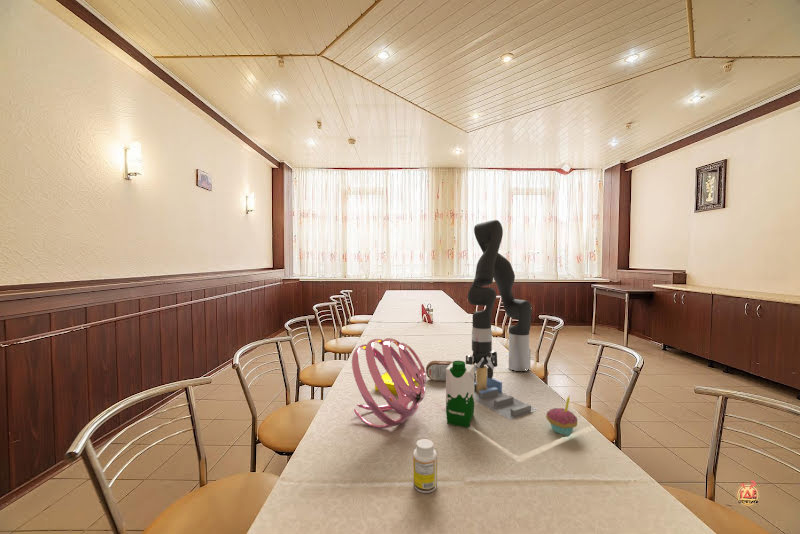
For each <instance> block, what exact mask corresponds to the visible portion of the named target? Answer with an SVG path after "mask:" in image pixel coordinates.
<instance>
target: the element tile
mask: <svg viewBox="0 0 800 534" xmlns="http://www.w3.org/2000/svg"><path fill="white" fill-rule="evenodd" d="M399 372H400V374H401V376H402V377H403V379H404V380H405V382H406V383H407V384H408V382H407V380H406V377H405V375H404V373H403V372H402V370H401V371H400V370H399ZM381 377H382V379H383V380H384V382H385V384H386V386H387V387H388V389H389V390H390V392H391V393H392V395H394V394H395V396H398V394H397V391H396V389H395V386H394V384H393V382H392V380H391V378H390V376H389V374H388V373H387V371H385V373H384V374H383V373H382V375H381ZM412 378H413V377H412ZM413 381H414V383H415V386H416V387H418V385H419V384H418V383H417V382H416V381H415V380H414V379H413ZM408 385H409V384H408ZM375 390H376V391H375ZM374 391H375V392H378V391H379V390H378V388H377V386H376V384H375V383H374Z"/></svg>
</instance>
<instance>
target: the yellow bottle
mask: <svg viewBox="0 0 800 534" xmlns="http://www.w3.org/2000/svg"><path fill="white" fill-rule="evenodd" d="M487 368H488V367H487V365H482V366H480V367H479V368H478V369H477V370H476V372H475V373H476V393H477V394H479V391H482V390H485V389H487Z"/></svg>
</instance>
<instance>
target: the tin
mask: <svg viewBox="0 0 800 534" xmlns="http://www.w3.org/2000/svg"><path fill="white" fill-rule="evenodd" d="M452 362H453V361H449V360H447V361H446V360H432V361H430V362H429V363H428V364H427V365H426V367H425V373H426V377H427V378H428V379H429V380H431V381H434V382H446V368H447V367H448V366H449V365H450V364H451V363H452Z"/></svg>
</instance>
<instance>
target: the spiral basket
mask: <svg viewBox="0 0 800 534" xmlns="http://www.w3.org/2000/svg"><path fill="white" fill-rule="evenodd" d="M375 343H377V344H379V345H381V349H382V352H380V351H379V350H378V349H377V348H376V347H374V345H375ZM391 343H393V344H395V345H396V347H398V351H399V353H398V352H397V350H395V349H394V347H393V346H392V345H391ZM407 349H408V350H407ZM360 350H363V351H365V357H366V358H365V359H366V364H367V368H368V370H369V373H370V375H371V377H372V381H373V382H374V385H375V384H376V386H377V388H378V390H379V393H380V395H381V396H382V398H383V399H384V400H385V401H386V403H387V404H384V405H378V404H377V402H376V401H375V399H374V398H373V397H372V395H371V394H370V392H369V390H368V387H367V385H366V383H365V380H364V378H363V375H362V373H361V372H362V371H361V368H360V362H359V353H360ZM411 354H412V355H413V356H412V355H411ZM413 357H414V358H415V359H414V358H413ZM375 358H376V359H375ZM376 360H377V361H378V362H379V363H380V364H381V366H382V367H383V368H384V370H385V372H387V373H388V374H389V376H390V378H391V380H392V382H393V384H394V386H395V389H396V391H397V394H398V395H397V398H398V399H396V397H395V396H394V394H392V393H391V392H390V390H389V389H388V387H387V386H386V384H385V382H384V380H383V379H382V377H381V376H382V375H381V373H380V370H379V368H378V365H377V362H376ZM415 360H416V361H417V362H416V361H415ZM395 361H396V363H397V365H398V366H399V368H400V370H401V372H403V373H404V375H405V377H406V380H407V382H408V384H409V385H408V384H407V383H406V382H405V380H404V379H403V377H402V376H401V374H400V372H399V371H400V370H399V368H398V367H397V365H396V363H395ZM351 369H352V372H353V373H352V374H353V377H354V381H355V383H356V387H357V389H358V390H359V393H360V395H361V396H362V398H363V400H364V402H365V403H366V405H363V404H359V403H358V404H357V405H356V406H357V407H359V408H362V409H364V410H367V411H371V412H372V413H373V414H374V415H375V417H377V419H379V420H380V421H381V422H382V423H385V424H377V423H376V424H375V423H373V422H370V421H369V420H367V419H365V418H364V417H363V416H362V415H361V414H360V413H359V411H358V410H357V409H356V408H354V409H353V412H354V413H355V415H356V417H357V418H358V419H359V420H361V422H363V424H366V425H367V426H369V427H372V428H376V429H388V428H393V427H397V426H400V425H401V424H403V423H404V422H405V421H406V420H407V419H409V418H411V417H412V416H413V415H415V414H416V412H417V411H418V409H419V404H420V403H421V402H422V401H423V400H424V399H425V395H426V384H427V374H426V368H425V367H424V365H423V363H422V360H421V359H420V357H419V356H418V355H417V353H416V352H415V351H414V349H413V348H412V347H411V346H410V345H408V344H407V343H404V342H400V341H399V340H397V339H395V338H391V337H389V338H388V337H387V338H384V339H381V338H373V339H371V340H369V341H368V342H367V343H365V344H364V343H363V344H361V345H359V346H358V347H356V348H355V349H354V351H353V353H352V356H351ZM412 377H413V378H412ZM413 379H414V380H415V381H416V382H417V383H418V384H419V385H418V387H416V386H415V383H414V381H413ZM411 402H412V404H411V406H409V408H408V405H409V403H411ZM391 410H392V411H395V412H396V413H397V414H398V415H400V416H399V418H398V419H392V418H391V417H390V416H388V415H387V414H386V413H385V412H386V411H391Z"/></svg>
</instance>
